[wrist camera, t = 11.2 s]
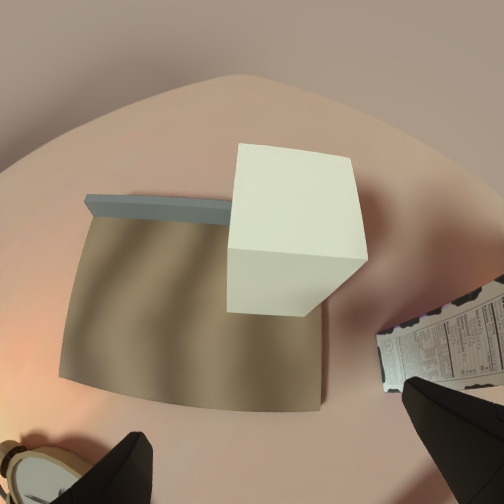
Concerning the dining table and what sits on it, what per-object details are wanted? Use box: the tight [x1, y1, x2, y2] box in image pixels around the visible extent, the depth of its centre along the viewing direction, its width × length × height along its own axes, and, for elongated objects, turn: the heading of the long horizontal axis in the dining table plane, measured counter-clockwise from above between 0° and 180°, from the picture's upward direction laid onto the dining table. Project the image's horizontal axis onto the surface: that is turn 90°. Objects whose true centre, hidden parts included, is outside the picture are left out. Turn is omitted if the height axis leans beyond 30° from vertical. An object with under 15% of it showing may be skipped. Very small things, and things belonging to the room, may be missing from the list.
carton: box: [227, 143, 368, 317], centre depth 18 cm, size 6×6×11 cm
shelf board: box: [59, 217, 322, 412], centre depth 21 cm, size 21×15×1 cm
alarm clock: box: [0, 440, 93, 504], centre depth 11 cm, size 11×5×15 cm
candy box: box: [376, 274, 504, 393], centre depth 14 cm, size 14×6×16 cm, turn 96°
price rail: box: [84, 194, 232, 226], centre depth 24 cm, size 21×1×4 cm, turn 87°
